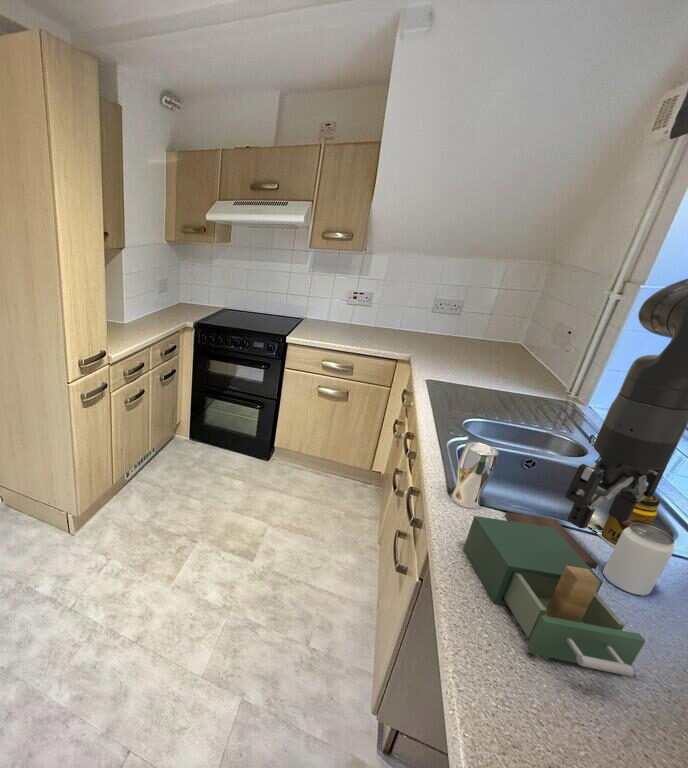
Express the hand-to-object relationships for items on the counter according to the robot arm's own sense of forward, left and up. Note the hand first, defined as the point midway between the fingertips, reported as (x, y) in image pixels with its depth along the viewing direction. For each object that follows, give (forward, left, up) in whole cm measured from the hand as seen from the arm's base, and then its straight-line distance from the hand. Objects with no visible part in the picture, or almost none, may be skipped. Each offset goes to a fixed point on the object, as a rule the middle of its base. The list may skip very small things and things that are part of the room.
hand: (597, 521), depth 65 cm
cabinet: (+2, -8, -21) cm, 22 cm away
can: (-19, -13, -21) cm, 31 cm away
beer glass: (+1, -34, -21) cm, 40 cm away
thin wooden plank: (-11, -23, -21) cm, 33 cm away
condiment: (-27, -28, -21) cm, 44 cm away
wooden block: (+2, +4, -19) cm, 19 cm away
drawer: (+2, +5, -20) cm, 20 cm away
